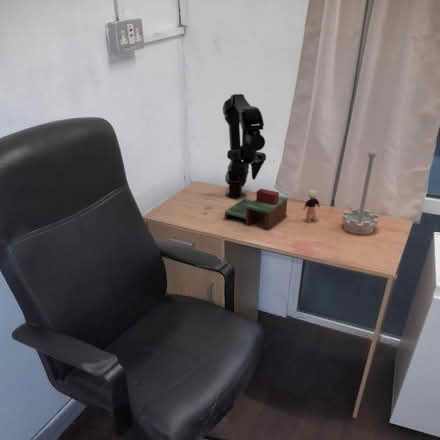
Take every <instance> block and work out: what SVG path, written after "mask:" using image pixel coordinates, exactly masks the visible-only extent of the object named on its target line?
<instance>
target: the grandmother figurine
mask: <svg viewBox="0 0 440 440" xmlns="http://www.w3.org/2000/svg"><path fill="white" fill-rule="evenodd" d="M317 196H318V192H317V190H316V189H311V190H309V191H308V197H309V199H308V200H307V201H306V202H305V204H304V206H303V208H302V210H304V211H305V210H306V214H305V219H304V221H305V222H307V223H311V222H316V215H317V213H316V212H317V209H316V208H321V205H320V202H319V200H318V198H316V197H317ZM316 206H317V207H316Z"/></svg>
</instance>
